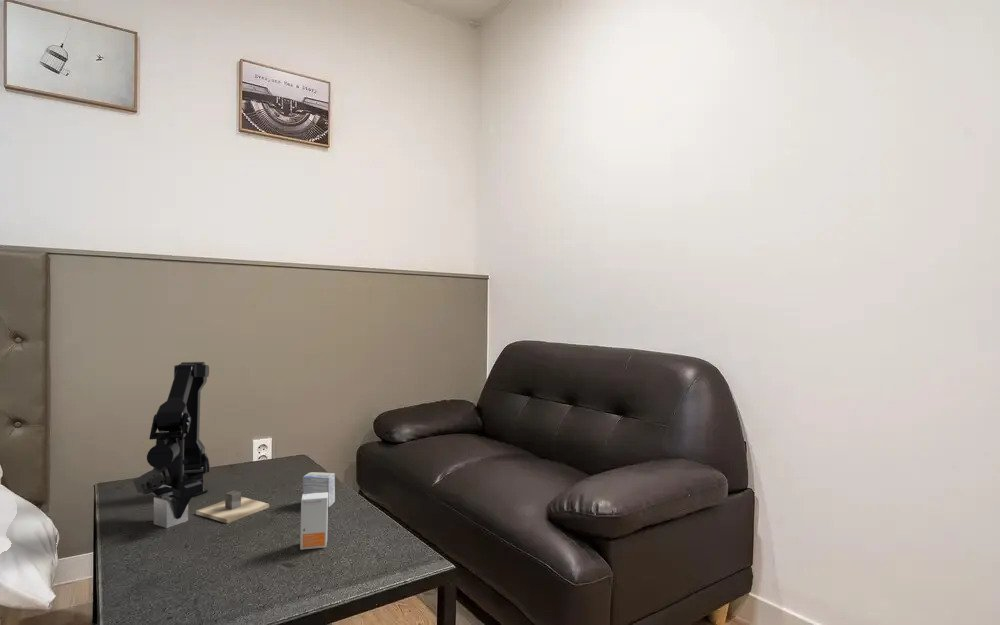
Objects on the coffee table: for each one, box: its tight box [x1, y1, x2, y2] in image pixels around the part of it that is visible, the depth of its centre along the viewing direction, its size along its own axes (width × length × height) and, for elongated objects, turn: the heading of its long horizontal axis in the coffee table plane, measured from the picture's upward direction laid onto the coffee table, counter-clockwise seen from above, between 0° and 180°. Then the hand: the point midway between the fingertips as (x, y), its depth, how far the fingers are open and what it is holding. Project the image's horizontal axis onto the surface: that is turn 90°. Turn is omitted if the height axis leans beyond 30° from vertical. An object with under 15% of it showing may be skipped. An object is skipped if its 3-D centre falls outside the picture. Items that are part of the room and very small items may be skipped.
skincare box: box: [299, 492, 329, 551], centre depth 129 cm, size 6×4×12 cm
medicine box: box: [302, 471, 336, 508], centre depth 156 cm, size 8×4×9 cm, turn 84°
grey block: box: [153, 492, 189, 529], centre depth 142 cm, size 6×6×7 cm
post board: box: [195, 490, 270, 524], centre depth 150 cm, size 13×13×5 cm
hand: (171, 516), depth 142 cm, fingers open, 6 cm apart
